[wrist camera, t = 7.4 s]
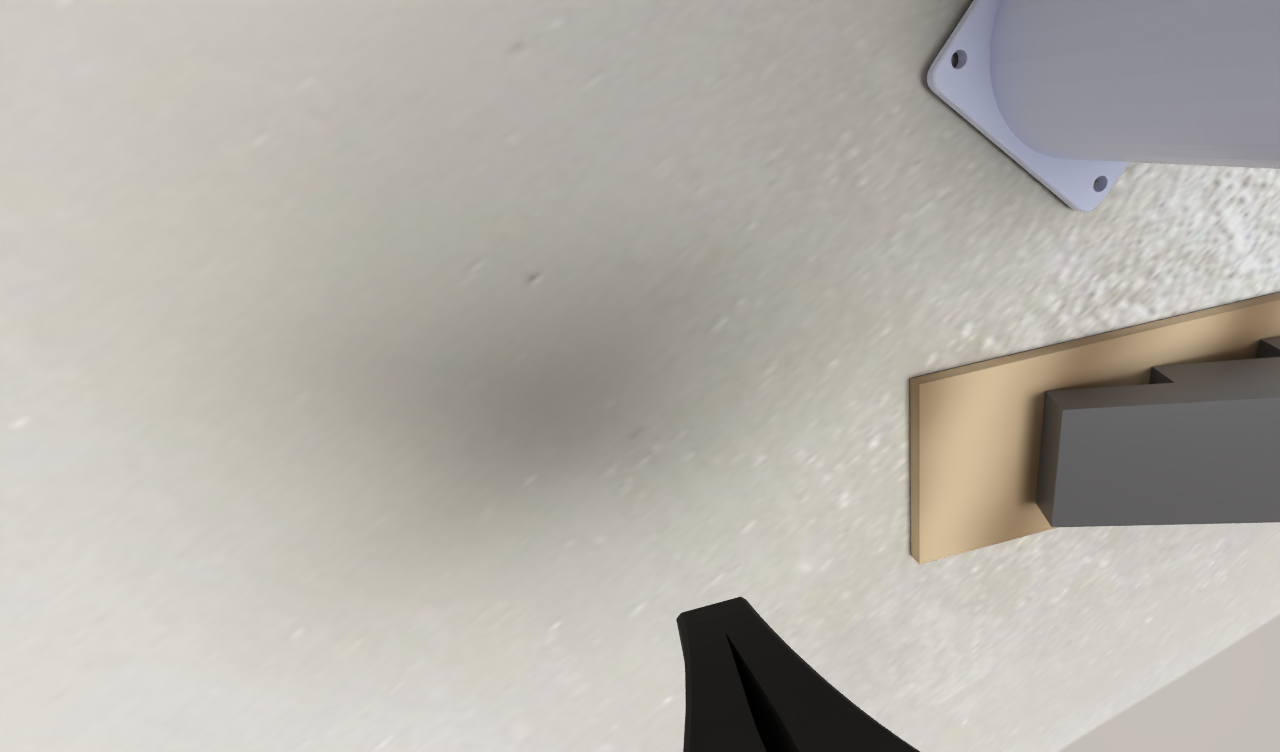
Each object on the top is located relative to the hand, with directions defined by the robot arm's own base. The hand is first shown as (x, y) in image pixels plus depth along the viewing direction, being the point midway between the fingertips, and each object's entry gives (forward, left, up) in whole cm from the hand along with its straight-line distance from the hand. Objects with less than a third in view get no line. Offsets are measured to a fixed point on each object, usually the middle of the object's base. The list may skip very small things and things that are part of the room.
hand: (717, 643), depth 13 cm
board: (-12, +21, -10) cm, 26 cm away
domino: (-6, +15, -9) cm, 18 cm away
